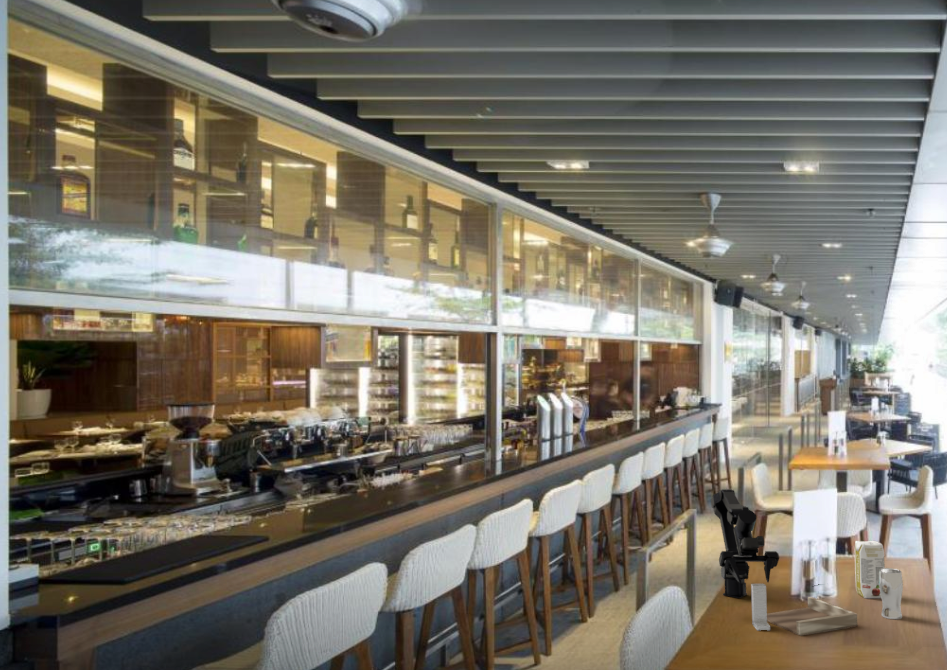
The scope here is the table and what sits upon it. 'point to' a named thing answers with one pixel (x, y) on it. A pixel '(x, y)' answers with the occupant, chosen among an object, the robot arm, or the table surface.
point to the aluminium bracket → (759, 607)
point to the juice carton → (868, 568)
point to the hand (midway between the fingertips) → (753, 581)
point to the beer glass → (891, 592)
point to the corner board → (814, 618)
